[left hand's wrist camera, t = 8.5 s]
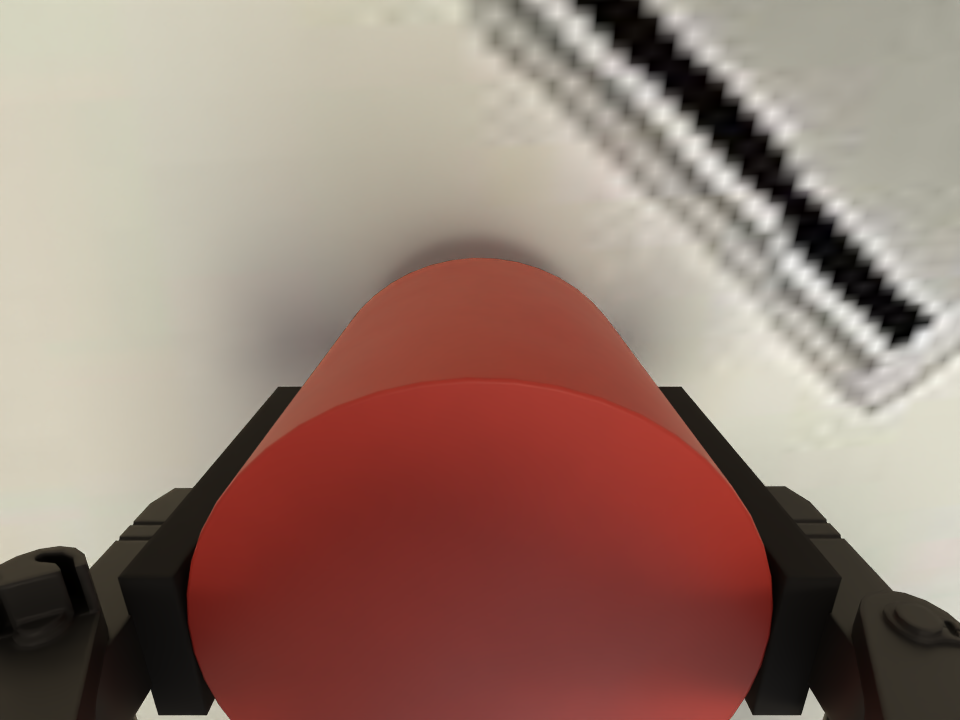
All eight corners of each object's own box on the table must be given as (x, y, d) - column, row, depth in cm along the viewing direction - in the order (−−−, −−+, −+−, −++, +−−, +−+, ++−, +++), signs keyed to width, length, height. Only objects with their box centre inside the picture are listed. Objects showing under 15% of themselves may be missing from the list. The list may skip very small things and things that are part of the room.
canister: (697, 376, 15) (902, 592, 8) (511, 578, 17) (533, 884, 10) (438, 187, 13) (387, 234, 6) (272, 440, 16) (91, 693, 8)
